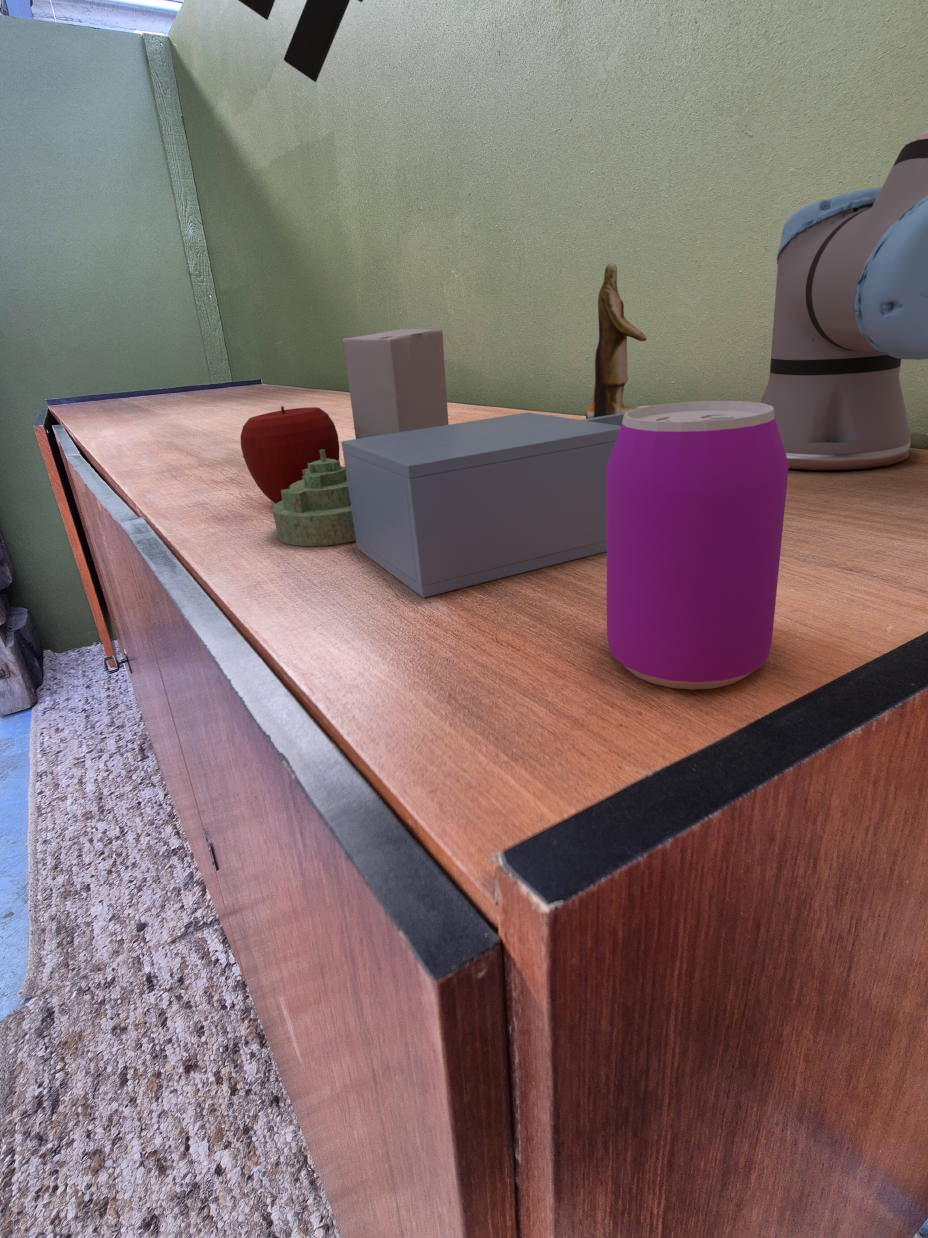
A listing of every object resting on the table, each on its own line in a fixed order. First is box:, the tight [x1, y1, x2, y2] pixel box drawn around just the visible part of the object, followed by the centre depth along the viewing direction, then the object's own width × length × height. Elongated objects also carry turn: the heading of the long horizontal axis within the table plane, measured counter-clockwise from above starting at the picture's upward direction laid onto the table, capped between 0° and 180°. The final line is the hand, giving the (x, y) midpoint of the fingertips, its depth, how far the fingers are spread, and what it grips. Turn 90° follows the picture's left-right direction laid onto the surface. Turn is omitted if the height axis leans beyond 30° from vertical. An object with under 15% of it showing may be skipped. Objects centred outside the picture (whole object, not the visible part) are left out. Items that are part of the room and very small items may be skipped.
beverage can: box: [606, 400, 790, 691], centre depth 33 cm, size 8×8×12 cm
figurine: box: [585, 262, 647, 419], centre depth 72 cm, size 5×8×20 cm, turn 73°
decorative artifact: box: [272, 450, 356, 547], centre depth 62 cm, size 10×7×10 cm
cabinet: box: [340, 412, 621, 599], centre depth 53 cm, size 17×14×9 cm
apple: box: [240, 405, 340, 505], centre depth 72 cm, size 10×10×10 cm
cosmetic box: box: [342, 328, 450, 439], centre depth 72 cm, size 8×7×16 cm
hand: (276, 42), depth 51 cm, fingers open, 13 cm apart
